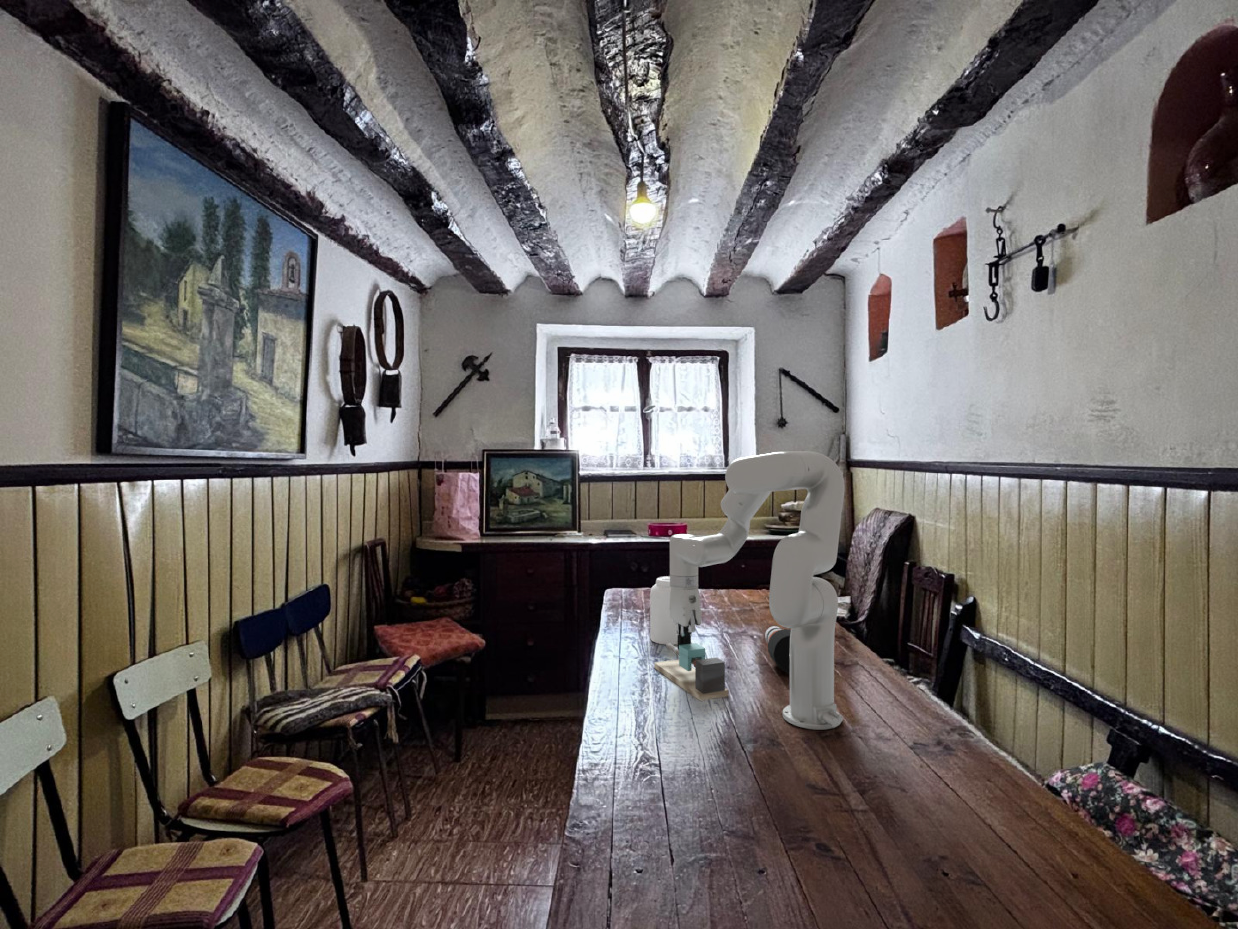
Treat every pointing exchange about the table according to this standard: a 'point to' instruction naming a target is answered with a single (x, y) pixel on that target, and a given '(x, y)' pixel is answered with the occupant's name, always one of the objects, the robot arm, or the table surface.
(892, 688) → the table surface
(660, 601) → the white jar
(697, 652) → the sleeve
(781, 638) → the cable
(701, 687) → the wooden slide rail
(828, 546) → the robot arm
